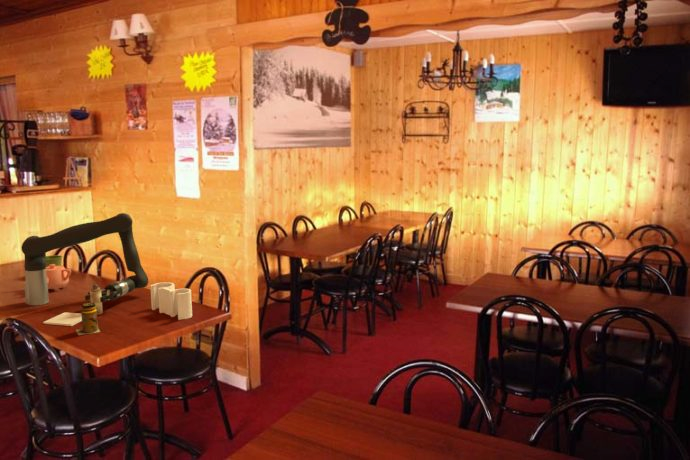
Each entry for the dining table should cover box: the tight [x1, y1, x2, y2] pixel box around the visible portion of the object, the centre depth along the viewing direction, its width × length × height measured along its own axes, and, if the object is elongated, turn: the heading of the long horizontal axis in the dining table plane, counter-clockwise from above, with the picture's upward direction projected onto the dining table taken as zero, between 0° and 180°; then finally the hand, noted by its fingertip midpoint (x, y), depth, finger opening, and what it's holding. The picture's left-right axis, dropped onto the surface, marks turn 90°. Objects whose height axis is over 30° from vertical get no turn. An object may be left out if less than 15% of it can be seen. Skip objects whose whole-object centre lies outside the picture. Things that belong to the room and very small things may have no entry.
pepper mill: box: [89, 283, 104, 316], centre depth 264 cm, size 5×5×14 cm
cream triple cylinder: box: [150, 281, 193, 321], centre depth 267 cm, size 25×10×12 cm, turn 48°
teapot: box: [46, 264, 72, 292], centre depth 305 cm, size 16×17×14 cm
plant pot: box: [46, 254, 63, 267], centre depth 332 cm, size 12×12×11 cm
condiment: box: [75, 302, 101, 336], centre depth 241 cm, size 7×8×12 cm
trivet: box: [42, 311, 82, 327], centre depth 256 cm, size 14×14×1 cm
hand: (93, 299), depth 262 cm, fingers open, 8 cm apart
